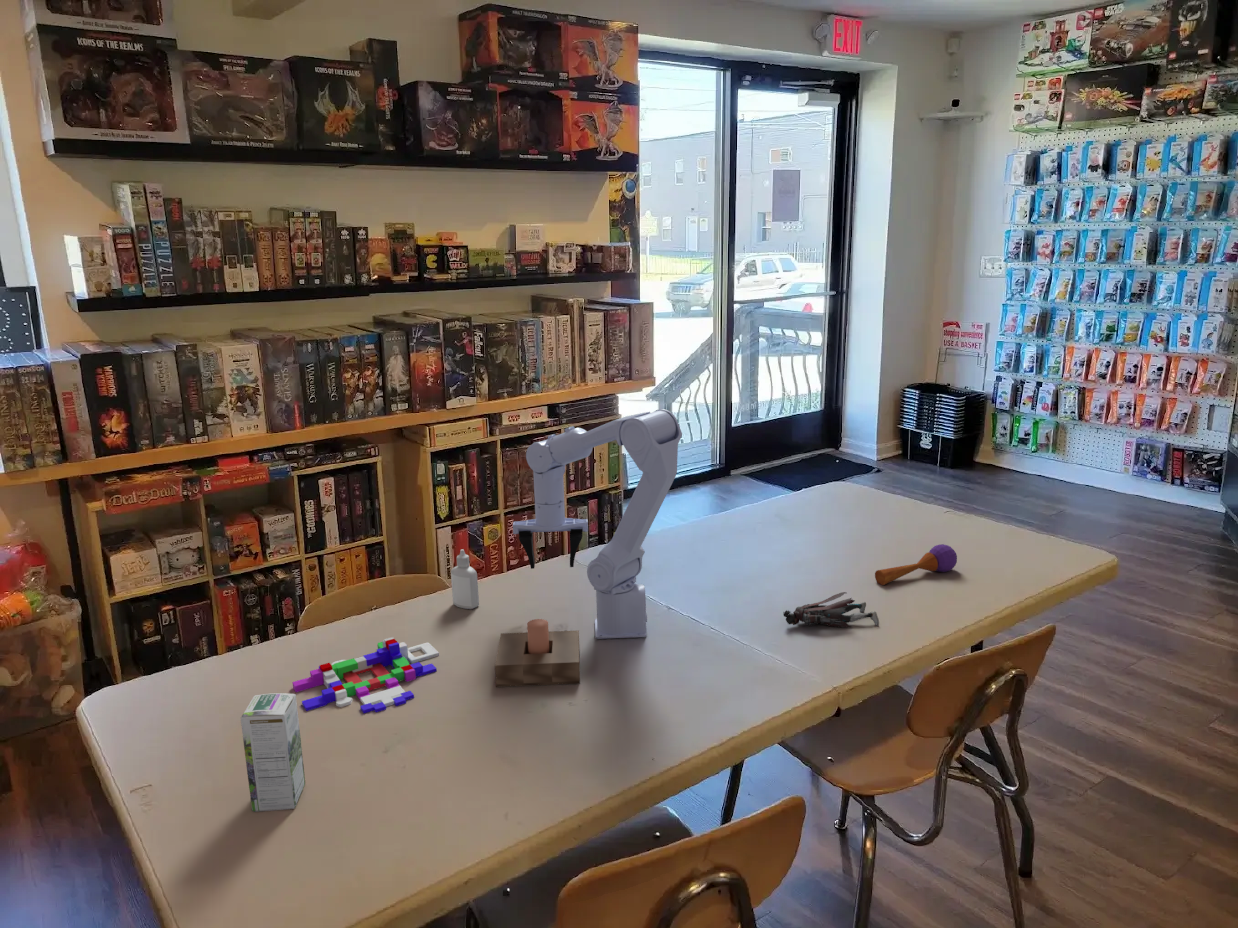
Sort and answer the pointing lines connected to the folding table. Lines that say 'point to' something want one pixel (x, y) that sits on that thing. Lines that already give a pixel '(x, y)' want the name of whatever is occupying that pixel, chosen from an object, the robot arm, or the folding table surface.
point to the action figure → (829, 613)
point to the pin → (538, 636)
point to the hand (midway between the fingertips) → (552, 566)
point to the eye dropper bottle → (464, 583)
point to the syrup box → (273, 751)
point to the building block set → (376, 662)
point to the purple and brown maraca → (921, 564)
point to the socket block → (538, 660)
